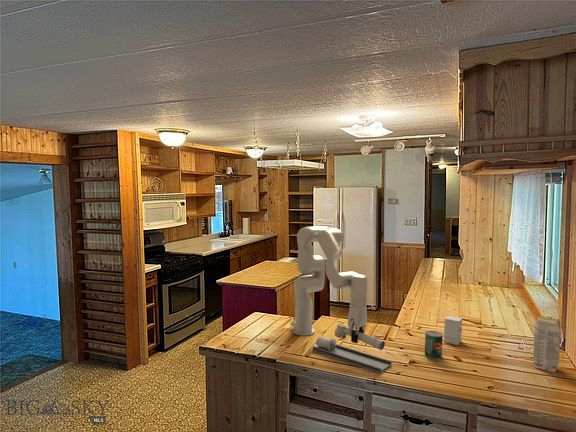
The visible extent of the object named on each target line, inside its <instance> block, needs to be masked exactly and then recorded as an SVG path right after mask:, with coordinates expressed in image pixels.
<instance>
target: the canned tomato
mask: <svg viewBox="0 0 576 432" xmlns="http://www.w3.org/2000/svg"><path fill="white" fill-rule="evenodd" d="M424 338H425V340H424V357H426V358H428V359H431V360H441V359H442V357H443V342H444V333H442V332H440V331H437V330H426V331H425V336H424Z"/></svg>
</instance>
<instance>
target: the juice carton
mask: <svg viewBox="0 0 576 432" xmlns="http://www.w3.org/2000/svg"><path fill="white" fill-rule="evenodd" d="M561 330H562V326H561V321H560V318H553V315H550V314H545V316H542V315H538V316H537V318H536V319H535V323H534V337H533V353H532V355H533V357H532V359H533V360H532V361H533V365H534V368H535V369H538V370H543V371H545V372H550V373H556V371H557V370H558V366H559V365H560V364H559V363H560V352H561V351H560V350H561V333H562V331H561Z"/></svg>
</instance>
